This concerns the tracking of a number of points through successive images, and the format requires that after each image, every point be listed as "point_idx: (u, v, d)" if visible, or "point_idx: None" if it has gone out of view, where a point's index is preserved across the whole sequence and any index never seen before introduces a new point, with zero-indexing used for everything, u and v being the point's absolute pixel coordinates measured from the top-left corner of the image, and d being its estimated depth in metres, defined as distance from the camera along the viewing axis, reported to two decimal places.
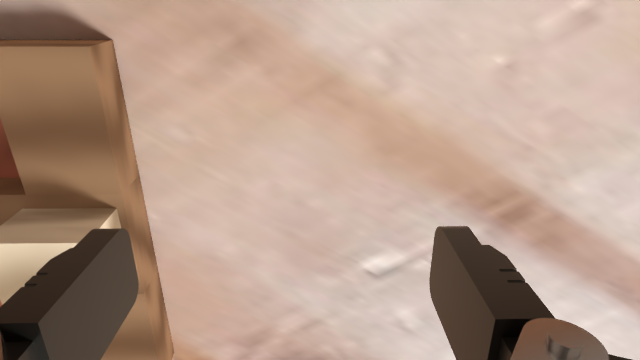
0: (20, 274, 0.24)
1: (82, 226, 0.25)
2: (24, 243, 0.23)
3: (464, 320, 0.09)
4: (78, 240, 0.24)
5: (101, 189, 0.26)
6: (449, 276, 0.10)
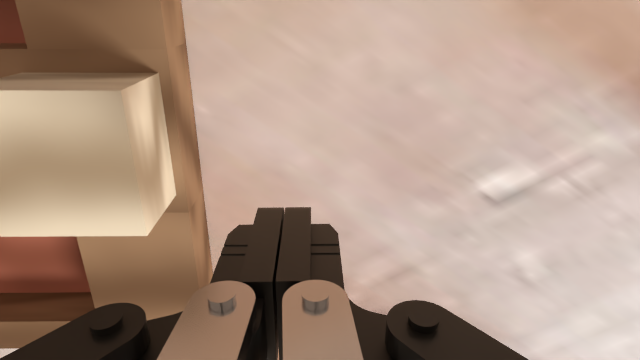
0: (15, 146, 0.16)
1: (111, 81, 0.17)
2: (23, 90, 0.15)
3: None
4: (107, 89, 0.15)
5: (137, 41, 0.18)
6: None
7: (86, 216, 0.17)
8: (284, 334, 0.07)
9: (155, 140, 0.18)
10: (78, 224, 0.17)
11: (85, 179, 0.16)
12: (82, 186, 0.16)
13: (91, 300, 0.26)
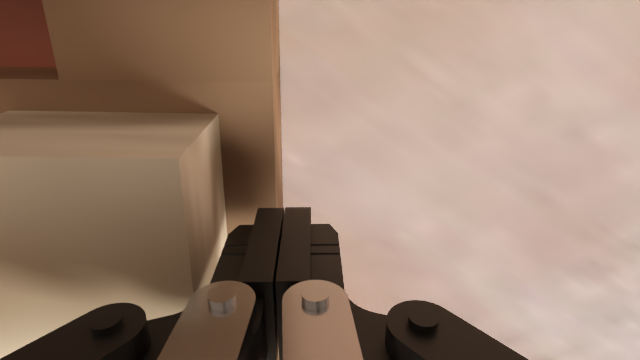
0: None
1: (154, 134, 0.10)
2: (7, 157, 0.08)
3: None
4: (154, 154, 0.09)
5: (229, 69, 0.12)
6: None
7: None
8: (284, 334, 0.07)
9: (213, 219, 0.12)
10: None
11: (108, 296, 0.10)
12: None
13: None
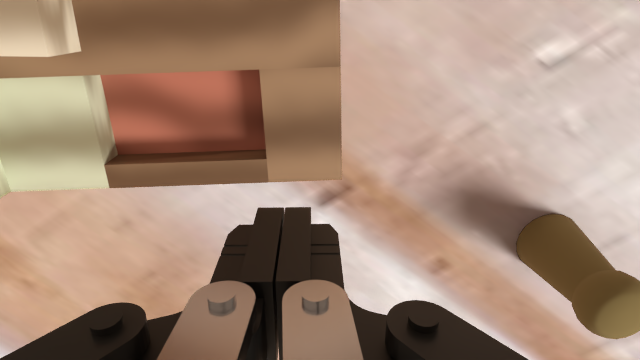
0: None
1: None
2: None
3: None
4: None
5: None
6: None
7: (8, 41, 0.26)
8: (284, 334, 0.07)
9: (58, 0, 0.27)
10: (3, 47, 0.26)
11: (6, 12, 0.25)
12: (4, 18, 0.26)
13: (253, 152, 0.35)
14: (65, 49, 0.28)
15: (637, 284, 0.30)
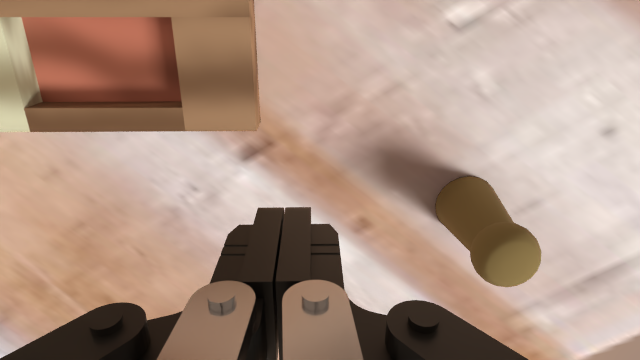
0: None
1: None
2: None
3: None
4: None
5: None
6: None
7: None
8: (284, 334, 0.07)
9: None
10: None
11: None
12: None
13: (173, 103, 0.36)
14: None
15: (525, 233, 0.32)
